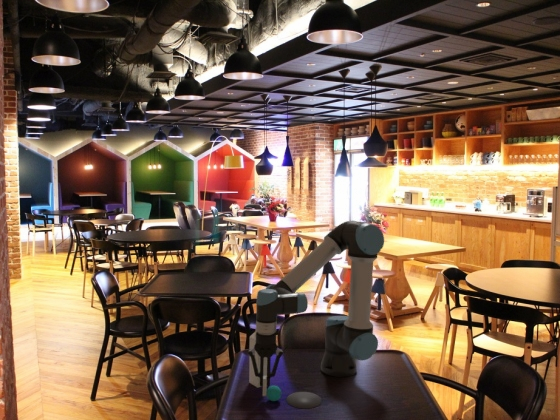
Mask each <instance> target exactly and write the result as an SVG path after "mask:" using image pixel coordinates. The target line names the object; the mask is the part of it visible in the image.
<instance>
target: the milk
mask: <svg viewBox="0 0 560 420" xmlns="http://www.w3.org/2000/svg"><path fill="white" fill-rule="evenodd" d="M256 332H257V331H256V330H255V331H254V332H253V333H251V335H250V336H249V349H253V348H254V346H255V344H256ZM248 355H249V354H248ZM248 358H249V359H248V360H249V361H248V362H249V374H248V375H249V378H248V379H249V380H248V381H249V384H250V385H252V386H254V387H255V388H263V386H260V378H259V377H256V376H255V373H254V368H253V364H252V360H251V357H250V355H249V357H248ZM255 359H256V364H257V368H258V372H260V356H259V355H258V354H257V352H256V351H255ZM263 376H267V357H264V365H263Z"/></svg>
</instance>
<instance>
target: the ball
mask: <svg viewBox="0 0 560 420" xmlns="http://www.w3.org/2000/svg"><path fill="white" fill-rule="evenodd" d="M281 396H282V390H281V388H280V387H279V386H278V385H270V386H268V388H267V394H266V397H267V399H268V400H269V401H271V402H277V401H278V400H280V398H282V397H281Z"/></svg>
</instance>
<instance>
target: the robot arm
mask: <svg viewBox="0 0 560 420" xmlns="http://www.w3.org/2000/svg"><path fill="white" fill-rule="evenodd" d="M384 245H385V237H384V233H383V232H382V230H381V229H380V228H379V227H378V226H377V225H375V224H373V223H370V222H364V221H358V220H346V221H344V222H342V223H340V224H339V225H337V226H336V227H333V229H331V231H329V232H328V233H327V234H326V235H325V236H324V238H323V241H322V242H320V244H318V245H317V246H316V247H315V248H314V249H313V250H312V251H311V252H310V253H309V254H308V255H307V256H305V257H304V258H303V259H302V260H301V261H300V262H299V263H297V264H296V265H295V266H294V267H293V268H292V269H291V270H290V271H288V273H286V275H284V276H283V277H282V278H281V279H280V280H279V281H277V282H276V283H272V284H271V283H270V284H269V285H267V286H266V288H262V289H260V290H258V291H257V294H256V302H255V304H256V310H255V311H256V312H255V313H256V316H255V317H256V320H255V331H257V332H256V344H255V346H254V348H253V349H250V348H249V349H248V353H247V354H248V355H250V357H251V360H252V364H253V368H254V373H255V376H256V377H259V378H260V386H262V397H267V395H266V394H267V389H268V388H267V387H270V386H271V378H274V377H276V374H277V369H278V366H279V362H280V360H281V357H282V356H283V354H284V351H283V349H280V348H279V347H278V345H277V329H278V328H277V325H278V323H277V321H278V316H282V315H294V314H296V315H297V314H302V313H305V312H306V311H307V309H308V307H309V306H308V305H309V304H308V303H309V301H308V297H307V295H306V294H305V293H303V292H297V291H298V290H299V289H300V288H301V287H303V285H305V283H307V282H308V281H309V280H310V279H311V278H313V276H314V275H315V274H316V273H317V272H319V271H320V270H321V269H322V268H323V267H324V266H325V265H326V264H327V263H328V262H330V261H331V260H332V259H333V258H334V257H335V256H336V255H341V254H342V253H343V252H344V251H346V250H347V257H348V258H349V259H350V260H351V263H350V275H349V276H350V278H349V279H350V280H349V282H350V283H349V297H348V312H347V313H348V315H332V316H329V317H327V319H325V339H324V342H325V346H324V347H325V348H324V349H325V350H324V354H323V357H322V360H321V363H320V370H321V372H323V374H325V375H328V376H330V377H331V376H332V377H337V378H338V377H339V378H343V377H344V378H345V377H350V376H354V375H355V374H356V372H357V363H356V360H357V361H366V360H367V361H368V360H369V359H371V358H372V357H373V355H374V354H376V352H377V349H378V346H379V341H378V338H377V337H376V335H375V334H374V324H373V323H372V322H371V321H370V320H371V319H370V318H371V306H372V288H373V285H372V284H373V273H374V272H373V270H374V262H375V260H377V259H378V254H379V253H380V252H381V250H382V249H383V248H384ZM255 351H256V352H257V354H258V355H259V356H260V372H258V368H257V364H256V359H255ZM274 354H276V355H275V359H274V362H273V368H272V370H271V361H272V360H271V357H273V356H274ZM264 357H267V376H263V365H264Z"/></svg>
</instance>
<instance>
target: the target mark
mask: <svg viewBox="0 0 560 420" xmlns="http://www.w3.org/2000/svg"><path fill="white" fill-rule="evenodd" d="M286 403H287V404H288V405H289V406H291V407H294V408H296V409H297V408H298V409H313V408H316V407H319V406H320V405H321V403H322V398H321V397H320V395H318V394H316V393H313V392H309V391H296V392H293V393H290V394H289V395H288V396H287V397H286Z"/></svg>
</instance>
